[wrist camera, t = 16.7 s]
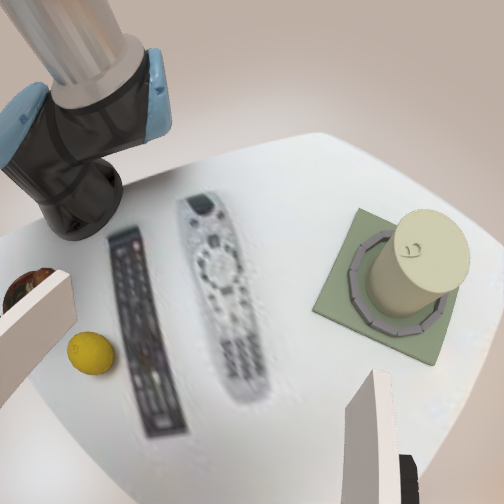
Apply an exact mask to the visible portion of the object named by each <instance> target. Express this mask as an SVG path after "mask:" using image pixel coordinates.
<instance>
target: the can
mask: <svg viewBox="0 0 504 504" xmlns="http://www.w3.org/2000/svg"><path fill="white" fill-rule="evenodd" d="M469 266H470V252H469V247H468V244H467V241H466V238H465V236H464V234H463V233H462V231H461V230H460V228H459V227H458V226H457V225H456V224H455V223H454V222H453V221H452V220H451V219H450V218H449V217H447V216H445V215H444V214H442V213H440V212H437V211H434V210H429V209H420V210H415V211H413V212H410V213H409V214H407V215H406V216H404V217H403V218H402V219H401V221H400V222H399V224H398V225H397V227H396V230H395V231H394V233H393V235H392V236H391V238H390V239H389V241H388V242H387V244H386V245H385V247H384V248H383V250H382V251H381V252H380V254H379V255H378V256H377V257H376V258H375V259H374V260H373V262H372V263H371V264H370V266H369V268H368V271H367V275H366V288H367V292H368V295H369V298H370V300H371V301H372V303H373V304H374V306H375V307H376V308H377V309H378V310H379V311H381V312H382V313H384V314H385V315H387V316H390V317H394V318H407V317H410V316H412V315H414V314H416V313H417V312H419V311H420V310H421V309H422V308H423V307H425V306H427V305H428V304H430V303H431V302H433V301H435V300H436V299H438V298H440V297H441V296H443V295H444V294H446V293H448V292H450V291H452V290H454V289H456V288H457V287H458V286H459V285H460V284H461V283H462V282H463V281H464V279H465V278H466V276H467V273H468V270H469Z"/></svg>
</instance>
